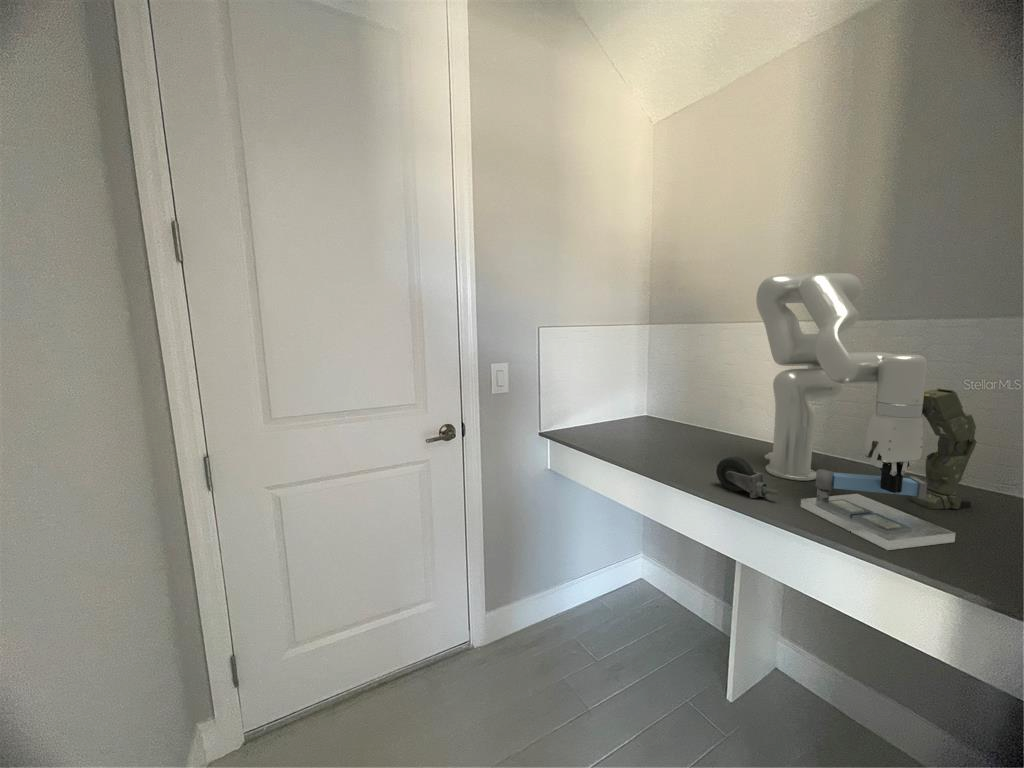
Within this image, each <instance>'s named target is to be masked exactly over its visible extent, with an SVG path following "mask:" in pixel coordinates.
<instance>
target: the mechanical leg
mask: <svg viewBox="0 0 1024 768" xmlns="http://www.w3.org/2000/svg"><path fill="white" fill-rule="evenodd" d="M922 416H923V417H924V418H925V419H926V420H927V422H928V424H929V426H930V427H931V430H932V431H933V433H934V434H935V435H936V436H937V437H938V440H937V451H934V452H930V453H929V454H928V455H926V459H925V468H924V469H925V479H924V481H923V482H925V483H927V491H926V499H919V498H917V497H916V496H911V495H908V501H910V502H913V503H915V504H918V505H920V506H922V507H924V508H925V507H926V508H927V509H930V510H941V509H943V510H944V509H945V510H946V509H947V510H949V509H953V510H959V508H960V509H968V508H967V507H969V508H972V505H971V502H970V501H967V500H964V499H962V498H959V497H958V496H957V495H958V485H959V483H960V482H961V480H962V478H963V475H964V473H965V470H966V467H967V466H968V463H969V461H970V458H971V456H972V454H973V452H974V450H975V447H976V444H977V439H975V435H976V430H977V425H976V423H975V420H974V417H973V415H972V414H969V413H966V412H964V410H963V406H962V403H961V400H960V398H959V395H958V393H957V391H954V390H953V389H947V388H938V387H937V388H936V389H930V390H924V399H923V410H922Z"/></svg>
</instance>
